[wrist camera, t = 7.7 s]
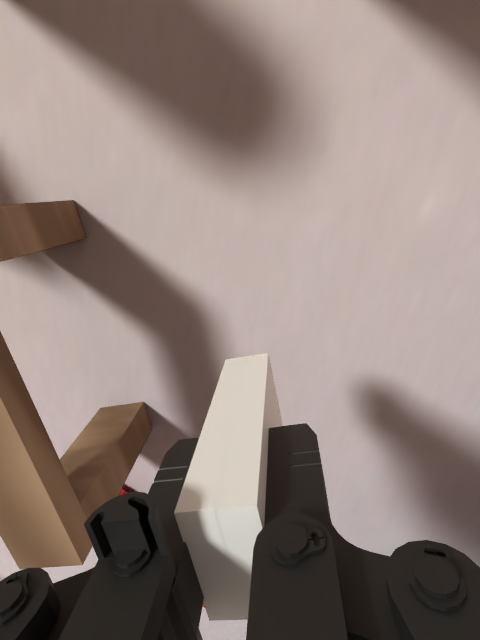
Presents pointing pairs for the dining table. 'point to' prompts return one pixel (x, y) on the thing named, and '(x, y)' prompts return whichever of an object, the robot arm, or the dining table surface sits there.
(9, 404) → the bridge
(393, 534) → the dining table surface
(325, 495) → the robot arm
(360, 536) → the dining table surface
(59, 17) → the dining table surface
